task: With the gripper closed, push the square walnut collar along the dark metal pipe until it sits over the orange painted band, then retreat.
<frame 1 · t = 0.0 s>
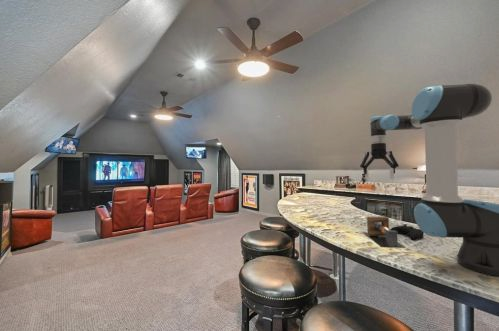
hand: (379, 179, 128), 28 cm above the table, fingers open, 13 cm apart
gaming controller: (408, 236, 112), on the table
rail: (381, 239, 108), on the table
collar: (377, 226, 112), point 5 cm above the table, slide at 0.0 cm
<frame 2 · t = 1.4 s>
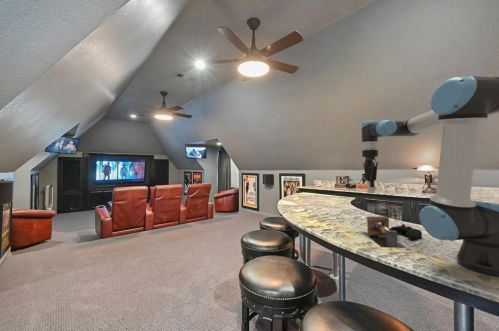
hand: (370, 193, 119), 21 cm above the table, fingers closed
gaming controller: (406, 236, 112), on the table
everything else where it was.
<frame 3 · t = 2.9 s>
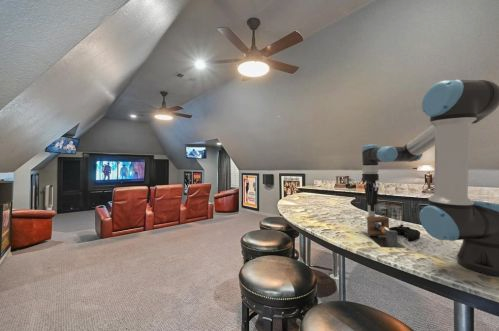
hand: (371, 216, 119), 9 cm above the table, fingers closed
gaming controller: (404, 237, 112), on the table
everything else where it was.
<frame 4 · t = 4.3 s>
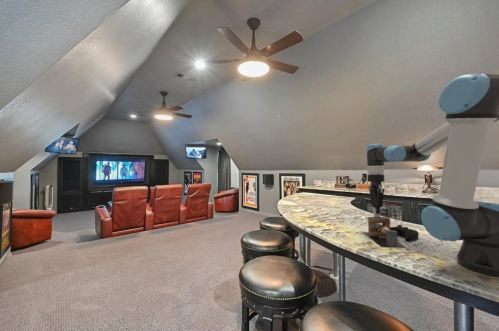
hand: (377, 219, 113), 8 cm above the table, fingers closed
gaming controller: (403, 237, 111), on the table
collar: (379, 226, 110), point 5 cm above the table, slide at 1.2 cm, touching gripper
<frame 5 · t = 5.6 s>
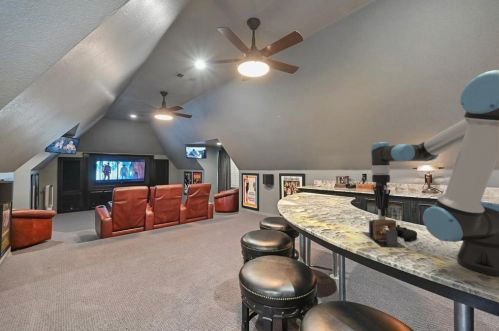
hand: (382, 222, 107), 9 cm above the table, fingers closed
collar: (384, 229, 105), point 6 cm above the table, slide at 6.6 cm, touching gripper
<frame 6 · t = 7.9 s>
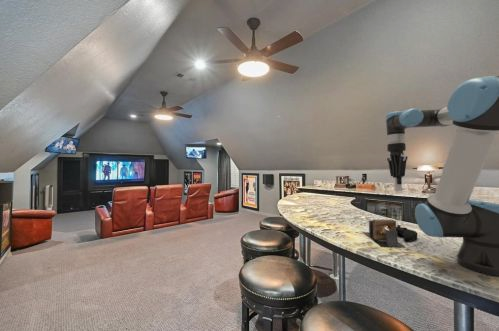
hand: (398, 190, 108), 24 cm above the table, fingers closed
collar: (384, 229, 105), point 6 cm above the table, slide at 6.7 cm
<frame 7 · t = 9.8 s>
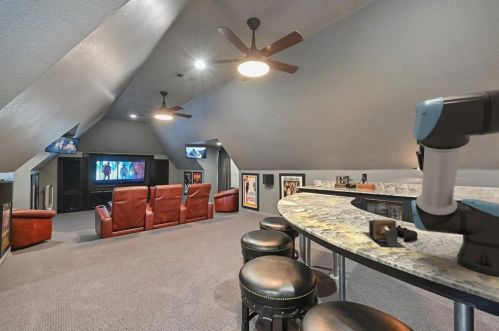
hand: (427, 185, 103), 26 cm above the table, fingers closed
at the end: collar slide at 6.7 cm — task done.
